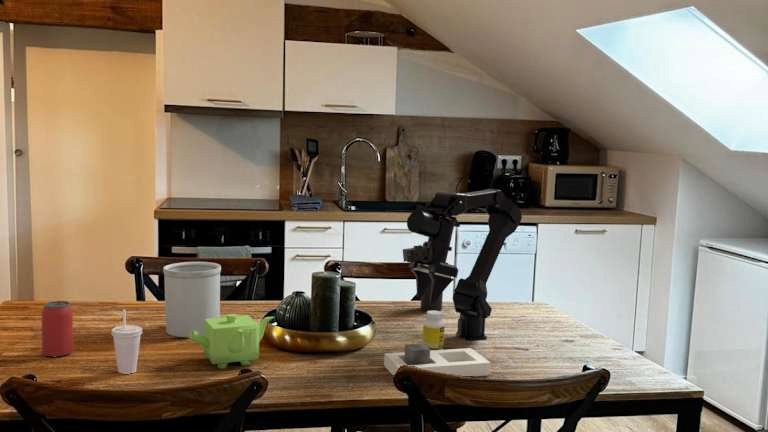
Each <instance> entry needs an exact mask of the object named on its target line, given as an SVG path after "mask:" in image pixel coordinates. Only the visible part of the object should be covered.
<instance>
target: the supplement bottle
mask: <svg viewBox="0 0 768 432" xmlns="http://www.w3.org/2000/svg"><path fill="white" fill-rule="evenodd" d="M426 318H427V319H425V320H424V321H423V325H422V342H421V344H424V345H425V346H427V347H428V348H429V349H430V351H433V350H444V341H445V340H444V338H445V324H446V323H445V322H444V321H443V320H442V319H443V312H442V311H441V310H440V311H434V310H432V311H426Z"/></svg>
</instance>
